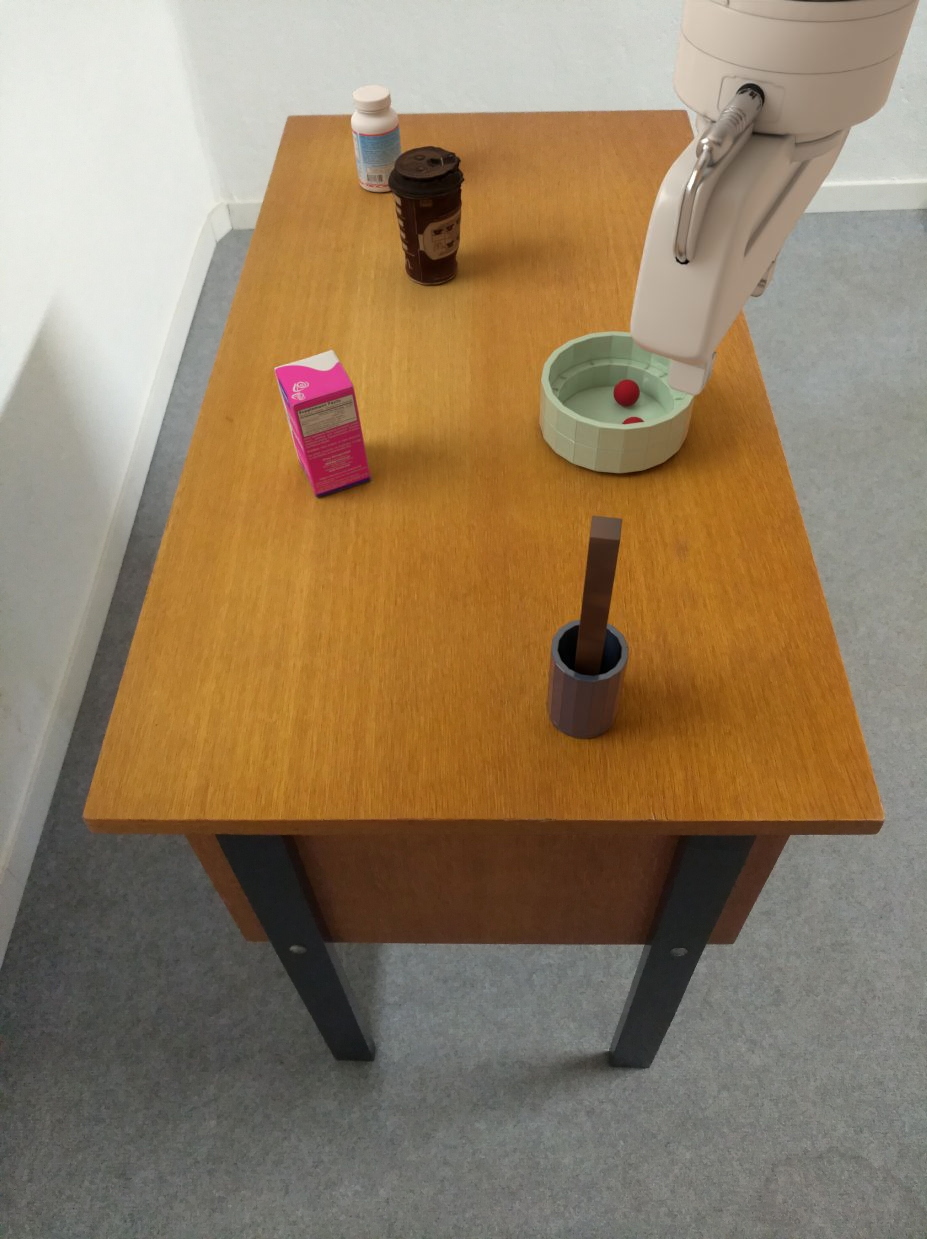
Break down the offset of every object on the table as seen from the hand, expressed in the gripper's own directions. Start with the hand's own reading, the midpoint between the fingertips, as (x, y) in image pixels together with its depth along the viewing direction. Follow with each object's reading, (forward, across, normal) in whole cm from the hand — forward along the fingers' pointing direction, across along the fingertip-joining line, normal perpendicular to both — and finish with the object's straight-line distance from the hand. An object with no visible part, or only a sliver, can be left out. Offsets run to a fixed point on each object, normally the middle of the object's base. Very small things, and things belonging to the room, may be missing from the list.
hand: (721, 334), depth 47 cm
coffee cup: (+31, +40, +44) cm, 67 cm away
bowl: (+31, +24, +14) cm, 41 cm away
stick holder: (+31, -7, +3) cm, 31 cm away
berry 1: (+29, +28, +14) cm, 42 cm away
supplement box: (+31, +6, +35) cm, 47 cm away
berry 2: (+29, +23, +11) cm, 38 cm away
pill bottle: (+31, +55, +61) cm, 88 cm away
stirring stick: (+30, -7, +3) cm, 31 cm away
